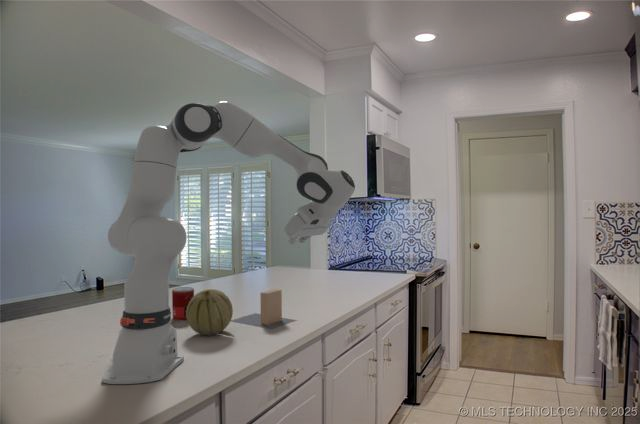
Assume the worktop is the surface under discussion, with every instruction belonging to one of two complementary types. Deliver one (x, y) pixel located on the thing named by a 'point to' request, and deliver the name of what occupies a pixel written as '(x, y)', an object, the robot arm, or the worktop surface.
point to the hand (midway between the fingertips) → (295, 242)
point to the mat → (256, 321)
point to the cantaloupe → (209, 312)
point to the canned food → (181, 301)
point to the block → (271, 306)
